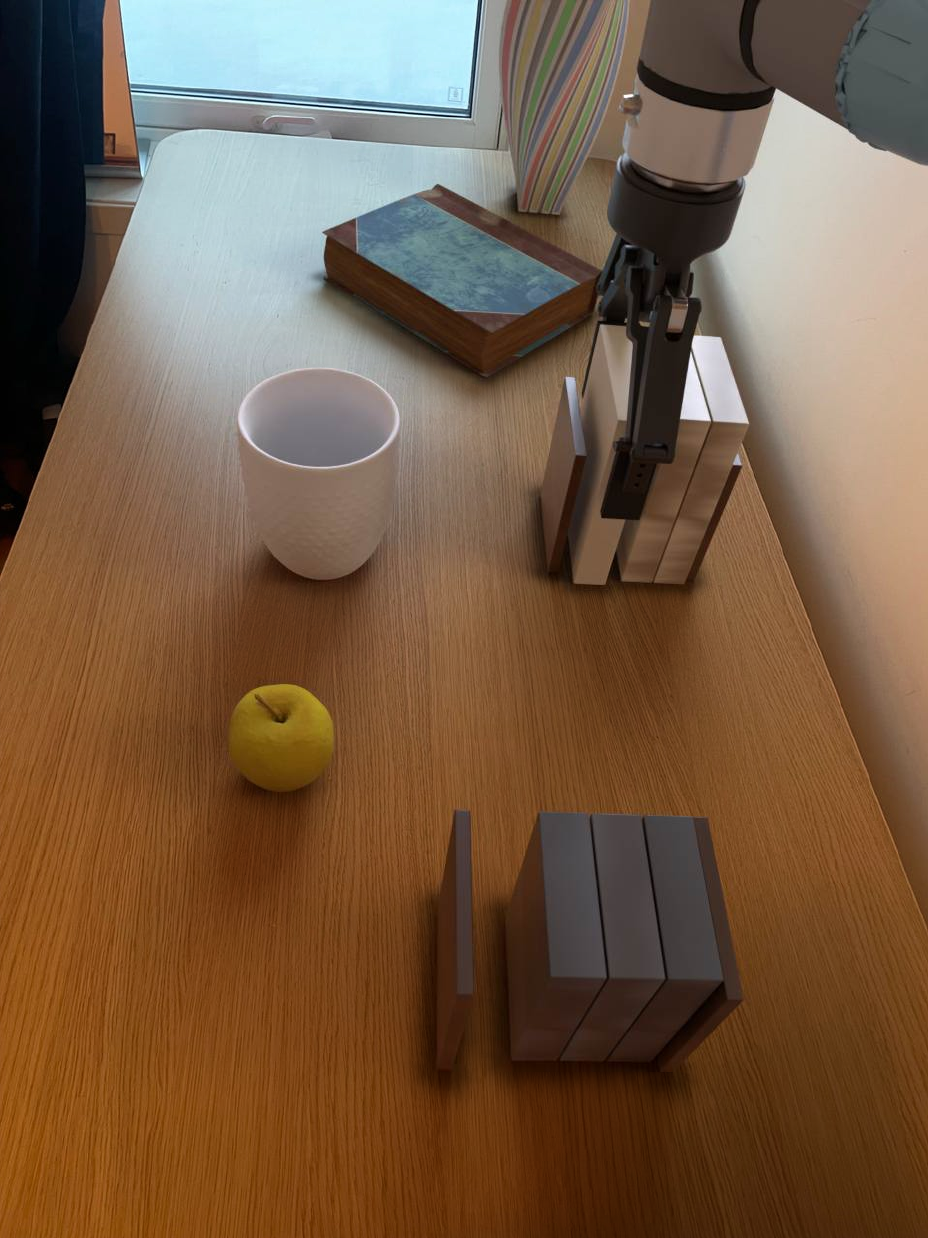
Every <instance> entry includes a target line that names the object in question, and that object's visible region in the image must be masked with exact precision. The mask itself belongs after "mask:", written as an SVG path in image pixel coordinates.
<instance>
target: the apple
mask: <svg viewBox="0 0 928 1238" xmlns="http://www.w3.org/2000/svg"><path fill="white" fill-rule="evenodd" d="M229 723H230V725H229V735H228V754H229V758H230V759H229V760H230V761H231V762H232V764H233V766H234V767H235V768H236V769H237V770H238V771H239V772H240V774H242V775H243V776H244V777H245V778H246V779H247V780H248V782H250V783H252V784H254V785H256V786H257V787H260V788H261V789H264V790H266V791H270V792H276V793H277V792H278V793H287V792H293V791H296V790H299V789H302V788H304V787H306V786H308V785H310V784H311V783H313V782H314V781H315V780H316V779H317V778H318V777H320V776H321V775H322V774H323V772H325V770H326V768H327V767H328V765H329V763H330V761H331V759H332V756H333V752H334V744H335V743H334V742H335V731H334V723H333V720H332V717H331V715H330V712H329V711H328V710H327V707H325V706H324V705H323V704H322V702H320V700H319V699H318V698H316V697H315V696H314V695H313V694H312V693H311V691H309V690H307V689H305V688H304V687H301V686H298V685H295V684H289V683H279V684H269V685H263V686H259V687H256V688H254V689H252V690H250V691H249V692H248V693H246V694H245V695H244V696H243V697H242V698H241V699H240V700H239V702H238V703H237V705H236V706H235V708H234V710H233V713H232V715H231V718H230V722H229Z"/></svg>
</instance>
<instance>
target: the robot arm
mask: <svg viewBox="0 0 928 1238" xmlns="http://www.w3.org/2000/svg"><path fill="white" fill-rule="evenodd" d="M776 90H778V91H780V92H781V93H783V94H784V95H787V96H789V97H790V98H791V99H793V100H796V101H797V102H799V103H801V104H802V105H804V106H805V107H808V108H809V109H811V110H812V111H814V112H816V113H818V114H820V115H821V116H823V117H825V118H826V119H827V120H830V121H832V122H833V123H835V124H837V125H839V126H841V127H843V128H844V129H845V130H847V131H848V132H849V133H850V134H852V135H853V136H855V138H856V139H857V140H858V141H860V142H861V143H863V144H864V143H867V144H868V146H870V147H871V148H873V149H875V150H879V151H884V152H887V151H888V152H889V153H891V154H894V155H896V156H898V157H900V158H903V159H905V160H908V161H910V162H912V163H915V164H917V165H921V166H925V167H928V0H650V1H649V6H648V11H647V16H646V21H645V26H644V31H643V37H642V41H641V46H640V52H639V55H638V60H637V65H636V74H635V78H634V90H633V93H629V94H628V93H627V94H623V95H622V96H621V97H620V98H619V106H618V110H619V111H620V113H621V114H624V115H627V116H626V121H625V126H624V131H623V135H622V140H621V145H622V150H623V151H624V152H623V153H622V154H621V155H620V156H618V159H617V161H616V164H615V168H614V169H615V170H614V175H613V180H612V184H611V189H610V194H609V198H608V203H607V209H606V216H607V221H608V223H609V226H610V227H611V228H612V230H613V231H614V232H615V233H616V234H615V237H614V240H613V242H612V245H611V247H610V250H609V253H608V255H607V257H606V261H605V263H604V266H603V268H602V274H601V276H600V279H599V282H598V284H597V288H596V290H597V293H598V297H599V296H600V297H601V299H600V301H598V302H599V303H598V305H597V313H598V317H600V318H602V319H601V320H598V319H597V320H596V325H595V329H594V334H593V337H592V338H593V339H592V342H591V348H590V353H589V357H588V362H587V366H586V371H585V375H584V380H583V385H582V388H581V398H582V400H583V397H584V392H585V388H586V384H587V379H588V375H589V371H590V366H591V362H592V358H593V353H594V349H595V345H596V340H597V336H598V332H599V327H600V325H601V324H602V325H616V326H626V336H627V338H628V339H629V340H630V341H631V342H632V343H633V348H632V361H631V373H630V385H629V397H628V410H627V422H626V434H625V437H620V439H619V441H614V442H613V449H614V451H616V454H615V457H614V461H613V465H612V469H611V472H610V476H609V480H608V484H607V487H606V491H605V495H604V499H603V502H602V506H601V510H600V513H601V518H604V519H623V520H640V517H641V514H642V511H643V508H644V505H645V502H646V498H647V495H648V492H649V489H650V486H651V482H652V479H653V476H654V473H655V470H656V466H657V464H672V462H673V461H674V457H675V448H676V442H677V435H678V429H679V423H680V416H681V410H682V404H683V398H684V391H685V385H686V379H687V373H688V366H689V360H690V354H691V347H692V341H693V337H694V335H695V334H696V329H697V325H698V322H699V319H700V314H702V313H701V312H702V310H703V307H702V305H703V304H702V299H701V298H700V297H692V294H693V291H694V281H695V275H694V274H695V273H694V270H692V269H691V268H692V267H691V265H692V263H693V262H694V261H695V260H697V259H698V258H700V257H702V256H704V255H708V254H711V253H714V252H716V251H718V250H719V249H721V248H722V247H723V246H724V245H725V244H726V243H727V242H728V241H729V239H730V237H731V234H732V232H733V228H734V225H735V221H736V219H737V215H738V212H739V209H740V206H741V203H742V199H743V196H744V193H745V190H746V185H747V184H746V180H745V178H744V177H746V176H747V175H748V174H749V173H750V172H751V171H752V169H753V168H754V166H755V163H756V162H755V161H756V159H757V157H758V156H757V155H758V153H759V149H760V146H761V143H762V141H763V137H764V134H765V130H766V128H767V124H768V121H769V117H770V114H771V110H772V108H773V105H774V102H775V98H776ZM640 322H641V323H646V324H649V325H648V326H647V325H645V326H644V325H642V324H641V323H640Z"/></svg>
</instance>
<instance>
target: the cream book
mask: <svg viewBox="0 0 928 1238" xmlns="http://www.w3.org/2000/svg"><path fill="white" fill-rule="evenodd" d="M632 348H633V343H632V342H631V341H630V340H629V339H628V338H627V336H626V326H616V325H602V324H601V325H600V327H599V332H598V336H597V340H596V345H595V349H594V353H593V358H592V362H591V366H590V371H589V375H588V379H587V384H586V388H585V392H584V397H583V399H582V402H581V406H580V413H581V420H582V427H583V434H584V440H585V447H586V454H587V458H586V462H585V466H584V470H583V474H582V478H581V482H580V486H579V490H578V494H577V498H576V502H575V506H574V510H573V514H572V518H571V522H570V526H569V530H568V534H567V539H568V547H569V556H570V564H571V573H572V581H573V584H576V585H595V586H596V585H597V586H605V585H606V582H607V580H608V576H609V573H610V570H611V566H612V563H613V560H614V557H615V553H616V548H617V544H618V541H619V538H620V535H621V531H622V528H623V525H624V522H625V520H623V519H604V518H601V513H600V510H601V506H602V502H603V499H604V495H605V491H606V487H607V484H608V480H609V476H610V472H611V469H612V465H613V461H614V457H615V454H616V451H614V449H613V442H614V441H619V439H620V437H625V434H626V422H627V410H628V397H629V385H630V373H631V361H632Z"/></svg>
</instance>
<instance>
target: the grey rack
mask: <svg viewBox="0 0 928 1238" xmlns="http://www.w3.org/2000/svg"><path fill="white" fill-rule="evenodd" d="M452 816H453V817H452V824H451V828H450V835H449V840H448V845H447V852H446V857H445V862H444V867H443V874H442V880H441V885H440V891H439V897H438V902H437V929H436V930H437V936H436V937H437V940H436V941H437V942H436V943H437V944H436V945H437V946H436V948H437V949H436V951H437V952H436V956H437V957H436V958H437V959H436V961H437V965H436V966H437V967H436V970H437V971H436V1070H439V1071H443V1070H444V1071H445V1070H446V1071H450V1070H452V1069H453V1066H454V1062H455V1059H456V1056H457V1054H458V1049H459V1047H460V1046H459V1045H460V1043H461V1040H462V1036H463V1034H464V1030H465V1026H466V1022H467V1020H468V1017H469V1013H470V1010H471V1006H472V1003H473V1001H474V996H475V967H474V966H475V964H474V963H475V961H474V915H473V914H474V913H473V912H474V910H473V908H474V907H473V868H472V867H473V866H472V864H473V863H472V861H473V860H472V859H473V858H472V820H471V819H472V815H471V809H460V808H459V809H454V811H453V815H452ZM710 826H711V825H710V822H709V818H708V817H707V816H706V817H705V816H692V815H668V814H667V815H665V814H664V815H663V814H642V815H641V814H636V813H635V814H634V813H633V814H632V813H630V814H629V813H606V812H605V813H603V812H602V813H600V812H599V813H598V812H592V813H591V814H590V813H589V812H574V811H573V812H572V811H571V812H569V811H544V810H542V811H541V810H540V811H538V813H537V816H536V819H535V822H534V825H533V828H532V831H531V834H530V838H529V839H528V840H529V841H528V844H527V847H526V850H525V853H524V856H523V859H522V863H521V866H520V869H519V872H518V874H517V878H516V881H515V885H514V888H513V891H512V894H511V897H510V900H509V903H508V907H507V909H506V913H505V916H504V923H505V924H504V926H505V948H506V949H505V951H506V971H507V973H506V974H507V992H508V995H507V996H508V1016H509V1017H508V1019H509V1020H508V1021H509V1039H510V1040H509V1041H510V1042H509V1043H510V1059H511V1061H521V1062H522V1061H524V1062H525V1061H531V1062H534V1061H535V1062H557V1061H558V1060H559V1061H560V1062H605V1061H606V1062H612V1063H613V1062H617V1063H619V1062H622V1063H625V1062H627V1063H628V1062H629V1063H632V1062H633V1063H652V1061H653V1060H654V1059H655V1058H656V1057H657V1065H658V1071H659V1072H660V1073H673V1072H675V1071H676V1070H677V1069H678V1068H679V1067H680V1066H681V1065H682V1064H683V1063H684V1061H686V1060H687V1059H688V1057H690V1056H691V1055H692V1054H693V1052H694V1051H695V1050H696V1049H698V1048H699V1047H700V1045H702V1044H703V1043H704V1041H705V1040H706V1039H708V1038H709V1037H710V1035H712V1033H713V1032H714V1031H715V1030H716V1029H718V1027H719V1026H720V1025H721V1024H722V1023H723V1022H724V1021H725V1020H726V1019H727V1018H728V1017H729V1016H730V1015H731V1014H732V1013H733V1012H734V1011H735V1010H736V1009H737V1008H738V1007H739V1006H740V1005H741V1004H742V1003H743V1002H744V1000H745V997H744V993H743V992H744V991H743V988H742V982H741V977H740V973H739V968H738V963H737V958H736V952H735V946H734V943H733V936H732V932H731V928H730V923H729V917H728V913H727V907H726V902H725V897H724V892H723V887H722V881H721V877H720V871H719V867H718V861H717V856H716V851H715V847H714V842H713V837H712V831H711V827H710Z"/></svg>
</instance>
